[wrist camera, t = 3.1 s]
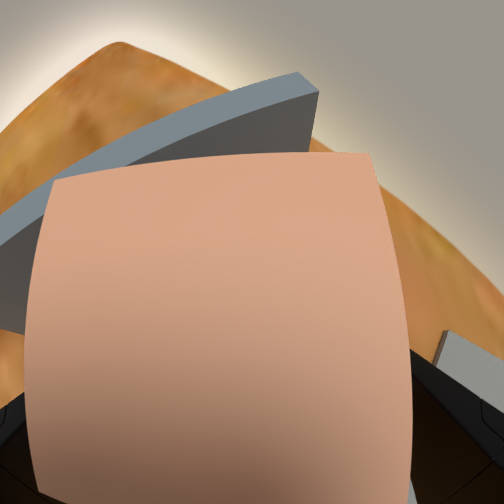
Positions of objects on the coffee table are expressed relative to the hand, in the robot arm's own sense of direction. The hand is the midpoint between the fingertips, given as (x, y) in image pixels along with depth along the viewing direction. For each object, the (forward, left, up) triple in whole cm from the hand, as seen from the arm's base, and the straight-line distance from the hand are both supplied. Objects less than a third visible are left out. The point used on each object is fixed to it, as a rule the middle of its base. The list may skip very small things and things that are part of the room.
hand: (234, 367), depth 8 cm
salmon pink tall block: (0, 0, -9) cm, 9 cm away
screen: (-3, +8, -8) cm, 12 cm away
